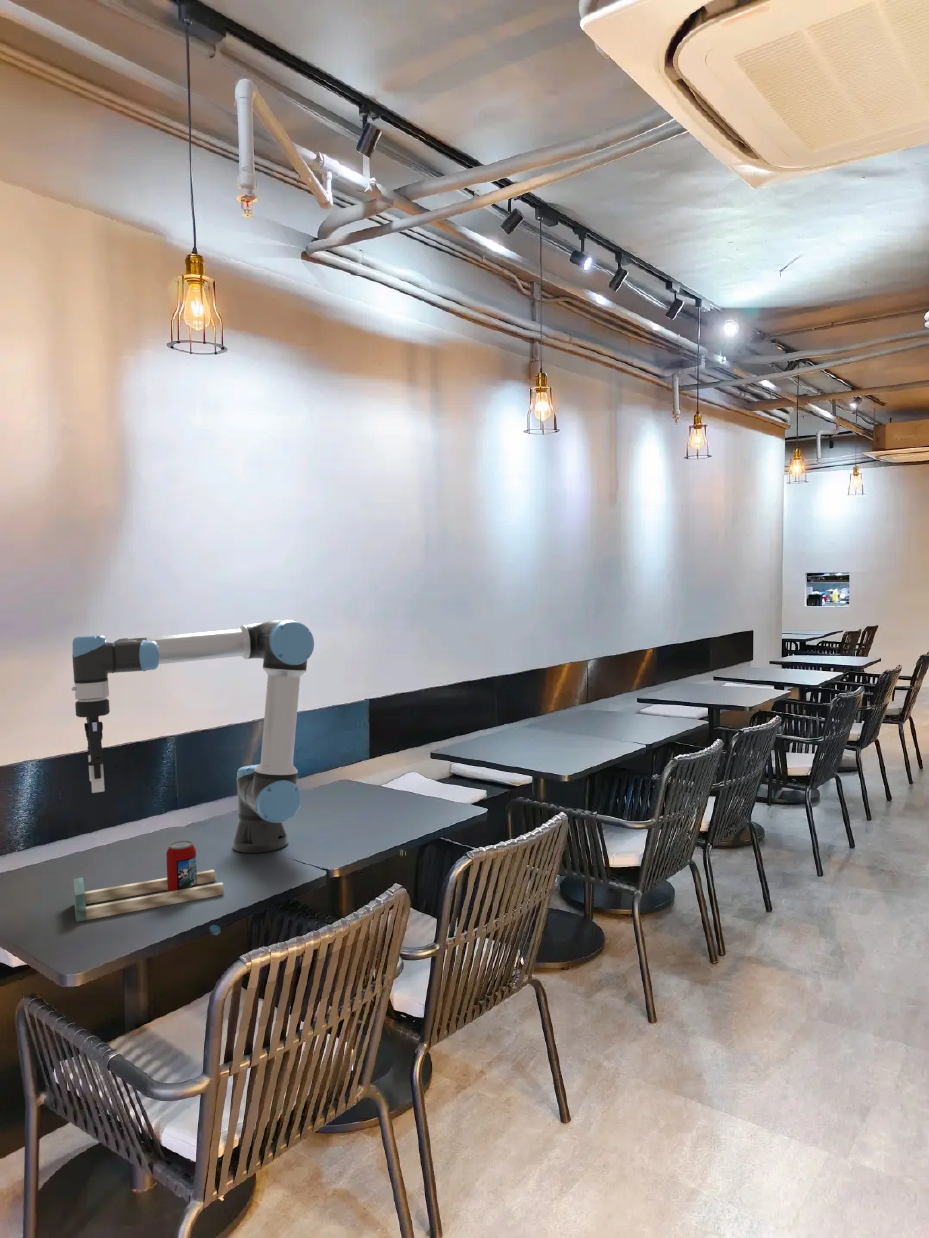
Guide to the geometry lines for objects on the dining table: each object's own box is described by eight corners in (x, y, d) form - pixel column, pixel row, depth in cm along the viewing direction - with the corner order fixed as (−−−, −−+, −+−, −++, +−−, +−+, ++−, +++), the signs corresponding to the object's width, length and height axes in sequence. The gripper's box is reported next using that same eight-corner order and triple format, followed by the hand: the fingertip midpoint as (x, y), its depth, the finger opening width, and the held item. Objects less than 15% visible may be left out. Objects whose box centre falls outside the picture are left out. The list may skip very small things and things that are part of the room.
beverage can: (188, 899, 196) (186, 849, 196) (162, 897, 198) (160, 847, 197) (202, 888, 203) (200, 840, 202) (177, 887, 204) (175, 839, 204)
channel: (214, 879, 209) (213, 855, 209) (223, 894, 199) (222, 869, 198) (74, 904, 195) (73, 878, 194) (76, 921, 184) (75, 895, 184)
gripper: (73, 695, 211) (78, 777, 211) (76, 706, 188) (81, 799, 189) (105, 692, 214) (110, 774, 215) (112, 703, 191) (117, 794, 192)
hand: (96, 786), depth 202 cm, fingers open, 13 cm apart
